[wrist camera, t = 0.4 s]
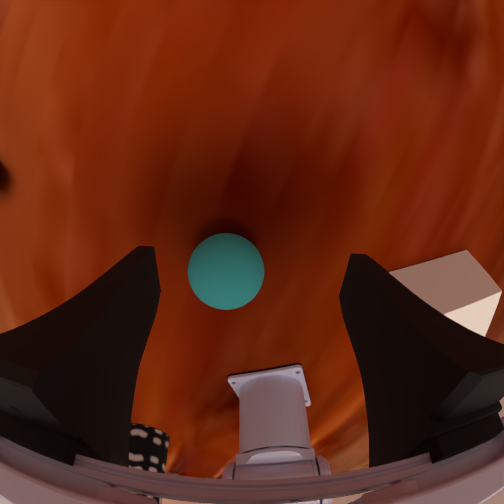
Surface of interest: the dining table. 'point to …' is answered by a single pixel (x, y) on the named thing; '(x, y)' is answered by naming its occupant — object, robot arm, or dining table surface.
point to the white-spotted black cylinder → (148, 450)
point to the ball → (226, 271)
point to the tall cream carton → (454, 289)
